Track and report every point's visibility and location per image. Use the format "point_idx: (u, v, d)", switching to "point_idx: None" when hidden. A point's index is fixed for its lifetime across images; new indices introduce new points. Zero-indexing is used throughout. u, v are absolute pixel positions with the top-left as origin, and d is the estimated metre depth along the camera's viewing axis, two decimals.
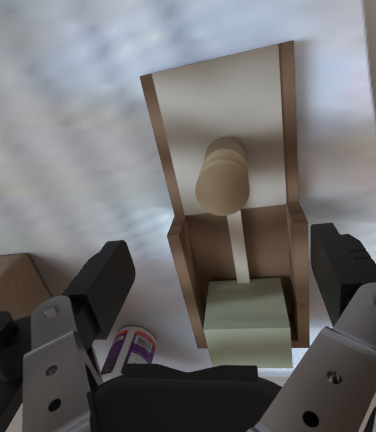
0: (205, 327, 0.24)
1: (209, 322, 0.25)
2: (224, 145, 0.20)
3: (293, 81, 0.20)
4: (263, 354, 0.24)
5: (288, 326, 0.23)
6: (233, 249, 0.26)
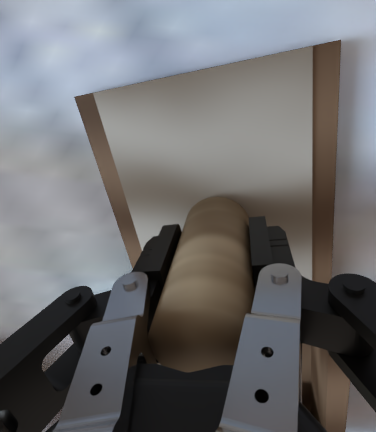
0: None
1: None
2: (213, 223, 0.11)
3: (335, 111, 0.12)
4: None
5: None
6: None
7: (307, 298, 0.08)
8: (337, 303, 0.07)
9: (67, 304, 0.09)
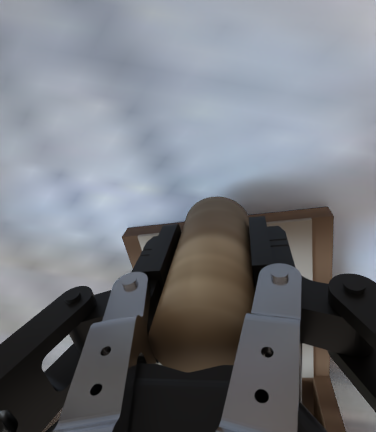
0: None
1: None
2: (212, 223, 0.11)
3: (330, 258, 0.15)
4: None
5: None
6: None
7: (307, 298, 0.08)
8: (337, 303, 0.07)
9: (67, 304, 0.09)
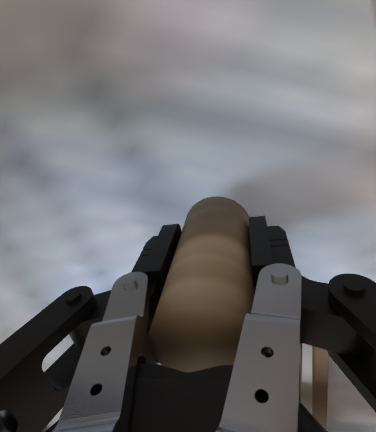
0: None
1: None
2: (213, 223, 0.11)
3: None
4: None
5: None
6: None
7: (307, 298, 0.08)
8: (337, 303, 0.07)
9: (67, 304, 0.09)
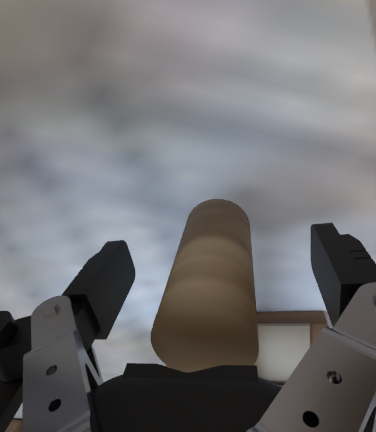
0: None
1: None
2: (213, 225, 0.12)
3: None
4: None
5: None
6: None
7: None
8: None
9: None
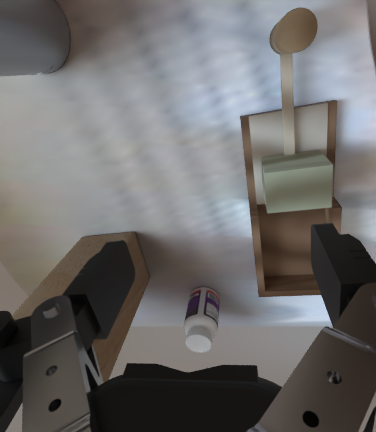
0: (265, 172, 0.32)
1: (268, 170, 0.32)
2: None
3: (335, 123, 0.34)
4: (309, 195, 0.32)
5: (331, 164, 0.30)
6: (284, 122, 0.34)
7: None
8: None
9: None
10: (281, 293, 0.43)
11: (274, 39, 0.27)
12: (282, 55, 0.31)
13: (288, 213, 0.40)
